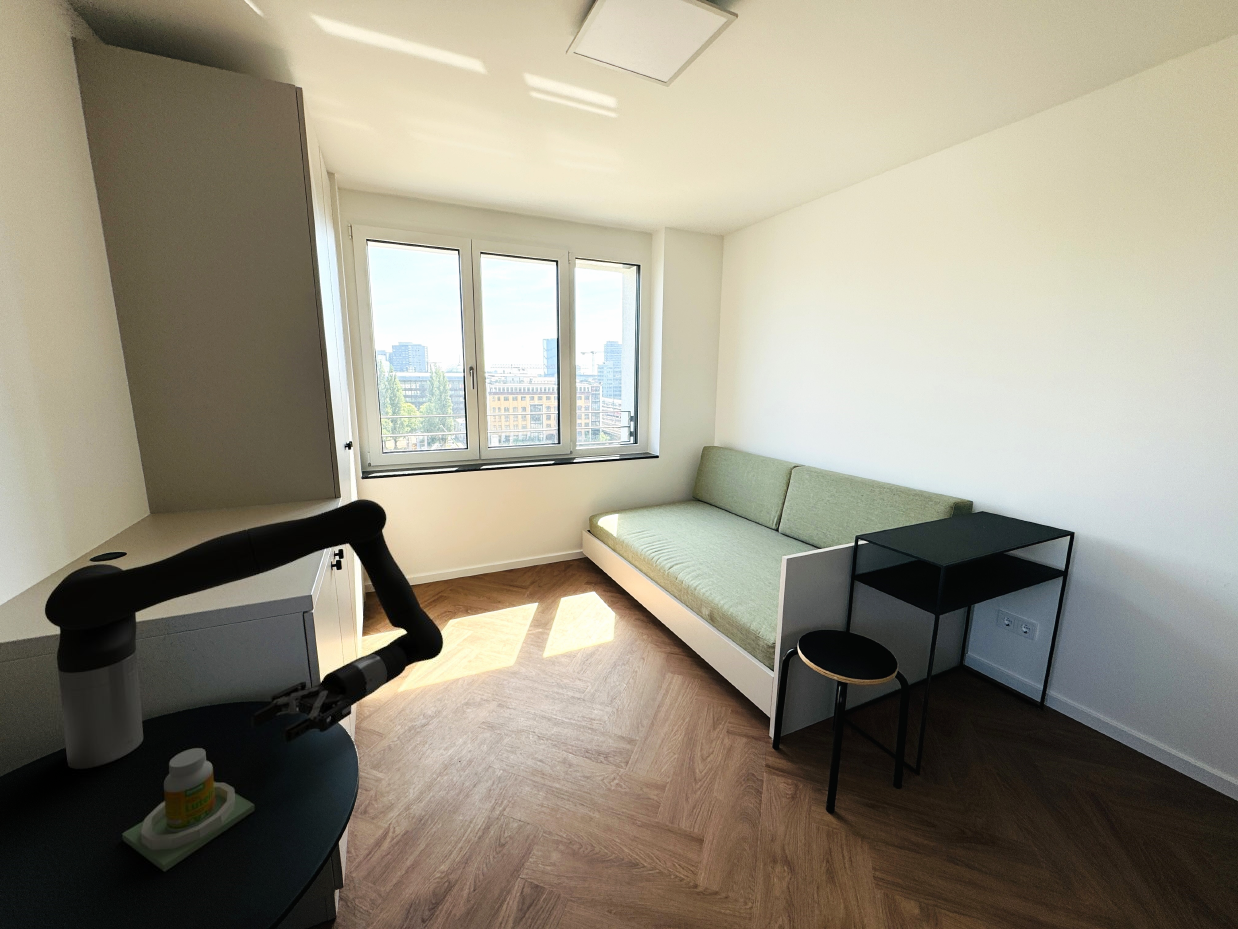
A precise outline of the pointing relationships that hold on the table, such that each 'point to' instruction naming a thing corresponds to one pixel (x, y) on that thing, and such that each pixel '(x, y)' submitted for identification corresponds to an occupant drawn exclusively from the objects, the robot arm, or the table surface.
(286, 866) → the table surface
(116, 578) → the robot arm
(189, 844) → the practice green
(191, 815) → the supplement bottle
